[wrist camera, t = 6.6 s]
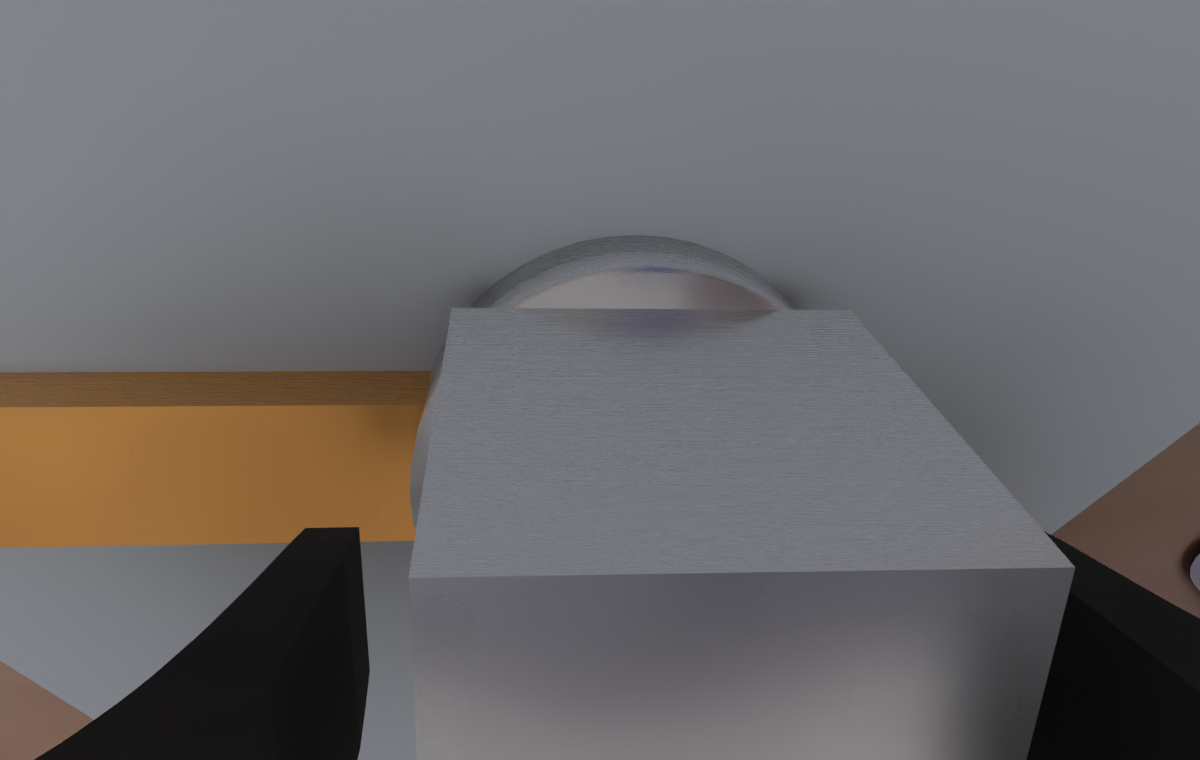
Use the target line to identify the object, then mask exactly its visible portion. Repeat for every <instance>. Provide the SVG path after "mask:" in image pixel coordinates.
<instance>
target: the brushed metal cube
mask: <svg viewBox="0 0 1200 760" xmlns="http://www.w3.org/2000/svg"><path fill="white" fill-rule="evenodd" d="M1074 571H1075V566H1074V565H1073V564H1072V563H1071V562H1070V561H1069V560H1068V558H1067V557H1066V556H1065V555H1064V554H1063V553H1062V551H1061V550H1060V549H1059V548H1058V547H1057V546H1056V545H1055V543H1054V542H1053V541H1052V540H1051V539H1050V538H1049V537H1048V535H1047V534H1046V533H1045V532H1044V531H1043V530H1042V529H1041V527H1040V526H1039V525H1038V524H1037V523H1036V522H1035V521H1034V519H1033V518H1032V517H1031V516H1030V515H1029V514H1028V513H1027V511H1026V510H1025V509H1024V508H1023V507H1022V506H1021V505H1020V503H1019V502H1018V501H1017V500H1016V499H1015V498H1014V497H1013V495H1012V494H1011V493H1010V492H1009V491H1008V490H1007V489H1006V487H1005V486H1004V485H1003V484H1002V483H1001V482H1000V481H999V479H998V478H997V477H996V476H995V475H994V474H993V473H992V471H991V470H990V469H989V468H988V467H987V466H986V464H985V463H984V462H983V461H982V460H981V459H980V458H979V456H978V455H977V454H976V453H975V452H974V451H973V450H972V448H971V447H970V446H969V445H968V444H967V443H966V442H965V440H964V439H963V438H962V437H961V436H960V435H959V434H958V432H957V431H956V430H955V429H954V428H953V427H952V426H951V424H950V423H949V422H948V421H947V420H946V419H945V418H944V416H943V415H942V414H941V413H940V412H939V411H938V410H937V408H936V407H935V406H934V405H933V404H932V403H931V402H930V400H929V399H928V398H927V397H926V396H925V395H924V394H923V392H922V391H921V390H920V389H919V388H918V387H917V385H916V384H915V383H914V382H913V381H912V380H911V379H910V377H909V376H908V375H907V374H906V373H905V372H904V371H903V369H902V368H901V367H900V366H899V365H898V364H897V363H896V361H895V360H894V359H893V358H892V357H891V356H890V355H889V353H888V352H887V351H886V350H885V349H884V348H883V347H882V345H881V344H880V343H879V342H878V341H877V340H876V339H875V337H874V336H873V335H872V334H871V333H870V332H869V331H868V329H867V328H866V327H865V326H864V325H863V324H862V323H861V321H860V320H859V319H858V318H857V317H856V316H855V315H854V313H853V312H852V311H851V310H769V309H593V308H451V314H450V321H449V327H448V333H447V339H446V346H445V352H444V358H443V364H442V371H441V377H440V383H439V389H438V396H437V402H436V408H435V414H434V421H433V427H432V433H431V439H430V446H429V452H428V458H427V464H426V471H425V477H424V483H423V489H422V496H421V502H420V508H419V514H418V521H417V527H416V533H415V539H414V546H413V552H412V558H411V564H410V571H409V577H408V581H409V602H410V623H411V644H412V665H413V686H414V707H415V728H416V749H417V760H1027V756H1028V752H1029V748H1030V744H1031V740H1032V736H1033V732H1034V728H1035V724H1036V720H1037V716H1038V712H1039V709H1040V705H1041V701H1042V697H1043V693H1044V689H1045V685H1046V681H1047V677H1048V673H1049V669H1050V665H1051V661H1052V657H1053V653H1054V650H1055V646H1056V642H1057V638H1058V634H1059V630H1060V626H1061V622H1062V618H1063V614H1064V610H1065V606H1066V602H1067V598H1068V594H1069V591H1070V587H1071V583H1072V579H1073V575H1074Z"/></svg>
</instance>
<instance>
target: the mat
mask: <svg viewBox="0 0 1200 760" xmlns="http://www.w3.org/2000/svg"><path fill="white" fill-rule="evenodd" d="M628 235H644V236H658V237H668V238H673V239H678V240H683V241H688V242H693V243H696V244H699V245H702V246H705V247H708V248H711V249H713V250H716V251H719V252H722V253H723V254H725V255H727V256H729V257H731V258H733V259H735V260H737V261H739V262H741V263H743V264H745V265H747V266H748V267H749V268H751V269H752V270H754V271H755V272H757V273H758V274H759V275H761V276H762V277H764V278H765V279H767V280H768V281H769V282H770V283H771V284H772V285H773V286H774V287H775V288H776V289H777V290H778V291H780V292H781V293H782V294H783V295H784V296H785V297H786V298H787V299H788V301H789V302H790V303H791V304H792V306H793V307H794V308H795V309H796V310H851V311H852V312H853V313H854V315H855V316H856V317H857V318H858V319H859V320H860V321H861V323H862V324H863V325H864V326H865V327H866V328H867V329H868V331H869V332H870V333H871V334H872V335H873V336H874V337H875V339H876V340H877V341H878V342H879V343H880V344H881V345H882V347H883V348H884V349H885V350H886V351H887V352H888V353H889V355H890V356H891V357H892V358H893V359H894V360H895V361H896V363H897V364H898V365H899V366H900V367H901V368H902V369H903V371H904V372H905V373H906V374H907V375H908V376H909V377H910V379H911V380H912V381H913V382H914V383H915V384H916V385H917V387H918V388H919V389H920V390H921V391H922V392H923V394H924V395H925V396H926V397H927V398H928V399H929V400H930V402H931V403H932V404H933V405H934V406H935V407H936V408H937V410H938V411H939V412H940V413H941V414H942V415H943V416H944V418H945V419H946V420H947V421H948V422H949V423H950V424H951V426H952V427H953V428H954V429H955V430H956V431H957V432H958V434H959V435H960V436H961V437H962V438H963V439H964V440H965V442H966V443H967V444H968V445H969V446H970V447H971V448H972V450H973V451H974V452H975V453H976V454H977V455H978V456H979V458H980V459H981V460H982V461H983V462H984V463H985V464H986V466H987V467H988V468H989V469H990V470H991V471H992V473H993V474H994V475H995V476H996V477H997V478H998V479H999V481H1000V482H1001V483H1002V484H1003V485H1004V486H1005V487H1006V489H1007V490H1008V491H1009V492H1010V493H1011V494H1012V495H1013V497H1014V498H1015V499H1016V500H1017V501H1018V502H1019V503H1020V505H1021V506H1022V507H1023V508H1024V509H1025V510H1026V511H1027V513H1028V514H1029V515H1030V516H1031V517H1032V518H1033V519H1034V521H1035V522H1036V523H1037V524H1038V525H1039V526H1040V527H1041V529H1042V530H1043V531H1045V532H1047V533H1048V534H1050V535H1051V534H1053V533H1054V532H1055V531H1057V530H1058V529H1059V528H1061V527H1062V526H1063V525H1065V524H1066V523H1067V522H1069V521H1070V520H1071V519H1073V518H1074V517H1075V516H1077V515H1078V514H1079V513H1081V512H1082V511H1083V510H1085V509H1086V508H1087V507H1089V506H1090V505H1091V504H1093V503H1094V502H1095V501H1097V500H1098V499H1099V498H1101V497H1102V496H1103V495H1105V494H1106V493H1107V492H1109V491H1110V490H1111V489H1113V488H1114V487H1115V486H1117V485H1118V484H1119V483H1121V482H1122V481H1123V480H1125V479H1126V478H1127V477H1129V476H1130V475H1131V474H1133V473H1134V472H1135V471H1137V470H1138V469H1139V468H1141V467H1142V466H1143V465H1145V464H1146V463H1147V462H1149V461H1150V460H1151V459H1152V458H1154V457H1155V456H1156V455H1158V454H1159V453H1160V452H1162V451H1163V450H1164V449H1166V448H1167V447H1168V446H1170V445H1171V444H1172V443H1174V442H1175V441H1176V440H1178V439H1179V438H1180V437H1182V436H1183V435H1184V434H1186V433H1187V432H1188V431H1190V430H1191V429H1192V428H1194V427H1195V426H1196V425H1198V424H1199V423H1200V0H0V372H240V371H431V370H432V367H433V364H434V361H435V359H436V357H437V355H438V353H439V351H440V349H441V347H442V345H443V343H444V341H445V339H446V338H447V333H448V327H449V321H450V314H451V308H470V307H471V305H472V304H473V303H474V302H475V301H476V300H477V299H478V298H479V297H480V296H481V295H482V294H483V293H485V292H486V291H487V290H488V289H489V288H490V287H492V286H493V285H494V284H495V283H496V282H498V281H499V280H500V279H501V278H503V277H504V276H506V275H508V274H509V273H511V272H512V271H514V270H515V269H517V268H519V267H520V266H522V265H523V264H525V263H527V262H529V261H531V260H533V259H535V258H538V257H540V256H542V255H544V254H546V253H548V252H550V251H553V250H556V249H559V248H562V247H565V246H568V245H572V244H575V243H578V242H582V241H587V240H593V239H598V238H604V237H611V236H628ZM288 544H289V543H258V544H200V545H142V546H83V547H25V548H0V661H1V662H3V663H5V664H6V665H8V666H9V667H11V668H12V669H14V670H16V671H17V672H19V673H20V674H22V675H24V676H25V677H27V678H28V679H30V680H32V681H33V682H35V683H36V684H38V685H40V686H41V687H43V688H44V689H46V690H47V691H49V692H51V693H52V694H54V695H55V696H57V697H59V698H60V699H62V700H63V701H65V702H67V703H68V704H70V705H71V706H73V707H74V708H76V709H78V710H79V711H81V712H82V713H84V714H86V715H87V716H89V717H90V718H92V719H94V720H95V719H96V718H98V717H99V716H100V715H102V714H103V713H104V712H106V711H107V710H109V709H110V708H111V707H113V706H114V705H116V704H117V703H118V702H120V701H121V700H122V699H123V698H125V697H126V696H127V695H129V694H130V693H131V692H133V691H134V690H135V689H136V688H138V687H139V686H140V685H141V684H143V683H144V682H145V681H146V680H148V679H149V678H150V677H151V676H153V675H154V674H155V673H156V672H157V671H158V670H160V669H161V668H162V667H163V666H164V665H165V664H166V663H167V662H169V661H170V660H171V659H172V658H173V657H174V656H175V655H177V654H178V653H179V652H180V651H181V650H182V649H183V648H185V647H186V646H187V645H188V644H189V643H190V642H191V641H193V640H194V639H195V638H196V637H197V636H198V635H199V634H200V633H201V632H202V631H203V630H204V629H206V628H207V627H208V626H209V625H210V624H211V623H212V622H213V621H214V620H215V619H216V618H217V617H218V616H219V615H220V614H221V613H222V612H223V611H224V610H225V609H226V608H227V607H228V606H229V605H230V604H231V603H232V602H233V601H234V600H235V599H236V598H237V597H238V596H239V595H240V594H241V593H242V592H243V591H244V590H245V589H246V588H247V587H248V586H249V585H250V584H251V583H252V582H253V581H254V580H255V579H256V578H257V577H258V576H259V575H260V574H261V573H262V572H263V571H264V570H265V569H266V567H267V566H268V565H269V564H270V563H271V562H272V561H273V560H274V559H275V558H276V557H277V556H278V555H279V554H280V553H281V552H282V551H283V550H284V549H285V548H286V546H287V545H288ZM360 545H361V559H362V572H363V586H364V599H365V613H366V626H367V639H368V653H369V666H370V674H369V682H368V691H367V699H366V708H365V716H364V723H363V731H362V738H361V746H360V751H359V756H358V760H417V749H416V728H415V707H414V686H413V665H412V644H411V623H410V602H409V581H408V577H409V571H410V564H411V558H412V552H413V546H414V541H375V542H360Z"/></svg>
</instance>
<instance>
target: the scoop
mask: <svg viewBox="0 0 1200 760" xmlns="http://www.w3.org/2000/svg"><path fill="white" fill-rule="evenodd" d="M470 308H593V309H769V310H796V309H795V308H794V307H793V306H792V304H791V303H790V302H789V301H788V299H787V298H786V297H785V296H784V295H783V294H782V293H781V292H780V291H778V290H777V289H776V288H775V287H774V286H773V285H772V284H771V283H770V282H769V281H768V280H767V279H765V278H764V277H762V276H761V275H759V274H758V273H757V272H755V271H754V270H752V269H751V268H749V267H748V266H747V265H745V264H743V263H741V262H739V261H737V260H735V259H733V258H731V257H729V256H727V255H725V254H723V253H722V252H719V251H716V250H713V249H711V248H708V247H705V246H702V245H699V244H696V243H693V242H688V241H683V240H678V239H673V238H668V237H658V236H644V235H628V236H611V237H604V238H598V239H593V240H587V241H582V242H578V243H575V244H572V245H568V246H565V247H562V248H559V249H556V250H553V251H550V252H548V253H546V254H544V255H542V256H540V257H538V258H535V259H533V260H531V261H529V262H527V263H525V264H523V265H522V266H520V267H519V268H517V269H515V270H514V271H512V272H511V273H509V274H508V275H506V276H504V277H503V278H501V279H500V280H499V281H498V282H496V283H495V284H494V285H493V286H492V287H490V288H489V289H488V290H487V291H486V292H485V293H483V294H482V295H481V296H480V297H479V298H478V299H477V300H476V301H475V302H474V303H473V304H472V305H471V307H470ZM446 339H447V338H446ZM446 339H445V341H444V343H443V345H442V347H441V349H440V351H439V353H438V355H437V357H436V359H435V361H434V364H433V367H432V370H431V371H240V372H0V548H25V547H83V546H142V545H200V544H258V543H290V542H291V541H292V540H293V539H294V538H295V537H296V536H297V535H299V534H300V533H301V532H302V531H303V530H304V529H305V528H329V527H359V532H360V542H375V541H414V539H415V533H416V527H417V521H418V514H419V508H420V502H421V496H422V489H423V483H424V477H425V471H426V464H427V458H428V452H429V446H430V439H431V433H432V427H433V421H434V414H435V408H436V402H437V396H438V389H439V383H440V377H441V371H442V364H443V358H444V352H445V346H446Z"/></svg>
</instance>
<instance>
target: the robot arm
mask: <svg viewBox="0 0 1200 760" xmlns="http://www.w3.org/2000/svg"><path fill="white" fill-rule="evenodd" d="M1044 532H1045V531H1044ZM1045 533H1046V534H1047V535H1048V537H1049V538H1050V539H1051V540H1052V541H1053V542H1054V543H1055V545H1056V546H1057V547H1058V548H1059V549H1060V550H1061V551H1062V553H1063V554H1064V555H1065V556H1066V557H1067V558H1068V560H1069V561H1070V562H1071V563H1072V564H1073V565H1074V566H1075V571H1074V575H1073V579H1072V583H1071V587H1070V591H1069V594H1068V598H1067V602H1066V606H1065V610H1064V614H1063V618H1062V622H1061V626H1060V630H1059V634H1058V638H1057V642H1056V646H1055V650H1054V653H1053V657H1052V661H1051V665H1050V669H1049V673H1048V677H1047V681H1046V685H1045V689H1044V693H1043V697H1042V701H1041V705H1040V709H1039V712H1038V716H1037V720H1036V724H1035V728H1034V732H1033V736H1032V740H1031V744H1030V748H1029V752H1028V756H1027V760H1200V619H1199V618H1197V617H1195V616H1193V615H1192V614H1190V613H1188V612H1186V611H1184V610H1182V609H1181V608H1179V607H1177V606H1175V605H1173V604H1172V603H1170V602H1168V601H1166V600H1164V599H1163V598H1161V597H1159V596H1157V595H1155V594H1154V593H1152V592H1150V591H1148V590H1147V589H1145V588H1143V587H1141V586H1140V585H1138V584H1136V583H1134V582H1133V581H1131V580H1129V579H1127V578H1126V577H1124V576H1122V575H1121V574H1119V573H1117V572H1115V571H1114V570H1112V569H1110V568H1108V567H1107V566H1105V565H1103V564H1101V563H1100V562H1098V561H1096V560H1095V559H1093V558H1091V557H1089V556H1088V555H1086V554H1084V553H1082V552H1081V551H1079V550H1077V549H1075V548H1074V547H1072V546H1070V545H1068V544H1067V543H1065V542H1063V541H1061V540H1059V539H1058V538H1056V537H1054V536H1052V535H1050V534H1048V533H1047V532H1045ZM1190 577H1191V580H1192V582H1193V584H1194V585H1195V586H1196V587H1197V589H1198V590H1199V591H1200V554H1199V555H1198V556H1197V557H1196V558H1195V560H1194V562H1193V564H1192V566H1191V569H1190ZM369 674H370V666H369V653H368V639H367V626H366V613H365V599H364V586H363V572H362V559H361V545H360V532H359V527H329V528H305V529H304V530H303V531H302V532H301V533H300V534H299V535H297V536H296V537H295V538H294V539H293V540H292V541H291V542H290V543H289V544H288V545H287V546H286V548H285V549H284V550H283V551H282V552H281V553H280V554H279V555H278V556H277V557H276V558H275V559H274V560H273V561H272V562H271V563H270V564H269V565H268V566H267V567H266V569H265V570H264V571H263V572H262V573H261V574H260V575H259V576H258V577H257V578H256V579H255V580H254V581H253V582H252V583H251V584H250V585H249V586H248V587H247V588H246V589H245V590H244V591H243V592H242V593H241V594H240V595H239V596H238V597H237V598H236V599H235V600H234V601H233V602H232V603H231V604H230V605H229V606H228V607H227V608H226V609H225V610H224V611H223V612H222V613H221V614H220V615H219V616H218V617H217V618H216V619H215V620H214V621H213V622H212V623H211V624H210V625H209V626H208V627H207V628H206V629H204V630H203V631H202V632H201V633H200V634H199V635H198V636H197V637H196V638H195V639H194V640H193V641H191V642H190V643H189V644H188V645H187V646H186V647H185V648H183V649H182V650H181V651H180V652H179V653H178V654H177V655H175V656H174V657H173V658H172V659H171V660H170V661H169V662H167V663H166V664H165V665H164V666H163V667H162V668H161V669H160V670H158V671H157V672H156V673H155V674H154V675H153V676H151V677H150V678H149V679H148V680H146V681H145V682H144V683H143V684H141V685H140V686H139V687H138V688H136V689H135V690H134V691H133V692H131V693H130V694H129V695H127V696H126V697H125V698H123V699H122V700H121V701H120V702H118V703H117V704H116V705H114V706H113V707H111V708H110V709H109V710H107V711H106V712H104V713H103V714H102V715H100V716H99V717H98V718H96V719H95V720H93V721H92V722H91V723H89V724H88V725H86V726H85V727H84V728H82V729H81V730H79V731H78V732H77V733H75V734H74V735H72V736H71V737H69V738H68V739H66V740H65V741H63V742H62V743H60V744H59V745H57V746H56V747H54V748H52V749H51V750H49V751H47V752H46V753H44V754H43V755H41V756H39V757H38V758H36V759H35V760H358V756H359V751H360V746H361V738H362V731H363V723H364V716H365V708H366V699H367V691H368V682H369Z"/></svg>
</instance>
